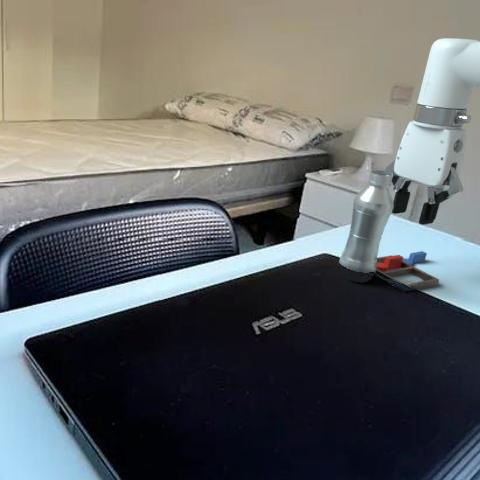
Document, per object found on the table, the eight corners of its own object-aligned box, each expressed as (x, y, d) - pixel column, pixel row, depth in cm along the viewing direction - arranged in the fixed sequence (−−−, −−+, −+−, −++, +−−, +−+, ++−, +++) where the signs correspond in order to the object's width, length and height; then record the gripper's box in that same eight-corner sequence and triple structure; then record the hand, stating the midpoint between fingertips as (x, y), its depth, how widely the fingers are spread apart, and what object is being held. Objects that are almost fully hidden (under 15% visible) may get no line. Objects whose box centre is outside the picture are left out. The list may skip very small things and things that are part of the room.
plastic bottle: (378, 280, 91) (408, 174, 83) (363, 291, 87) (394, 181, 79) (344, 267, 95) (370, 165, 87) (328, 278, 91) (354, 171, 83)
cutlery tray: (389, 263, 99) (391, 255, 98) (436, 288, 90) (439, 279, 90) (357, 269, 95) (359, 260, 95) (403, 295, 87) (405, 286, 86)
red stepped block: (392, 264, 97) (396, 253, 96) (403, 269, 95) (406, 258, 94) (370, 268, 95) (373, 256, 94) (380, 273, 93) (384, 262, 92)
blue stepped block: (416, 260, 102) (419, 249, 101) (426, 265, 100) (430, 254, 99) (395, 264, 99) (399, 253, 98) (405, 269, 97) (409, 258, 96)
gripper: (502, 125, 79) (468, 232, 86) (410, 109, 93) (388, 202, 100) (472, 126, 76) (440, 237, 83) (382, 109, 90) (360, 205, 97)
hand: (411, 217), depth 91 cm, fingers open, 5 cm apart
